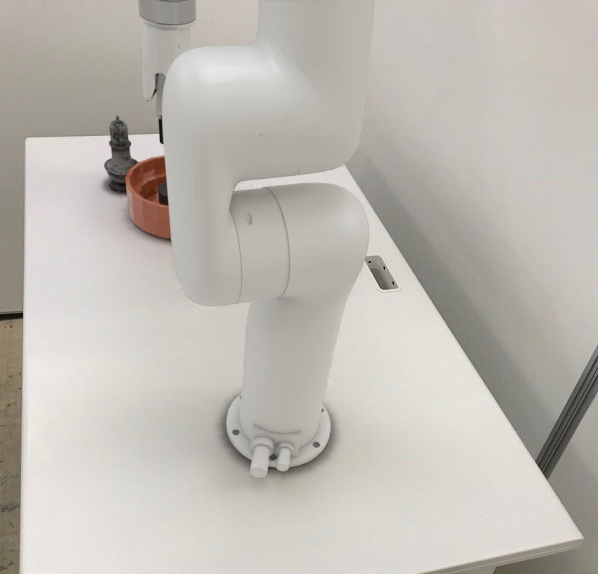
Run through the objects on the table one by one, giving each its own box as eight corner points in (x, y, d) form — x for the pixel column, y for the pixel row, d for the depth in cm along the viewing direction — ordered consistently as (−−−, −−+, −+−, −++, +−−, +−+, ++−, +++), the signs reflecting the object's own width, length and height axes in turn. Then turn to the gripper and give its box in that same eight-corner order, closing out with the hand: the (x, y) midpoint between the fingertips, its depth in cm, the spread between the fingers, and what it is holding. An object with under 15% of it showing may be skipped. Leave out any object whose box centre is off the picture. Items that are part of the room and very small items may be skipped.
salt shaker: (99, 188, 108) (90, 118, 99) (116, 172, 112) (109, 103, 103) (131, 197, 107) (125, 127, 99) (147, 181, 111) (142, 112, 102)
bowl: (218, 249, 100) (219, 215, 96) (116, 233, 100) (112, 198, 96) (236, 196, 111) (237, 163, 107) (144, 181, 111) (141, 148, 107)
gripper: (155, -15, 90) (161, 115, 104) (121, 22, 80) (133, 161, 93) (207, -6, 90) (207, 122, 104) (181, 32, 80) (184, 169, 93)
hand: (172, 140), depth 98 cm, fingers closed
